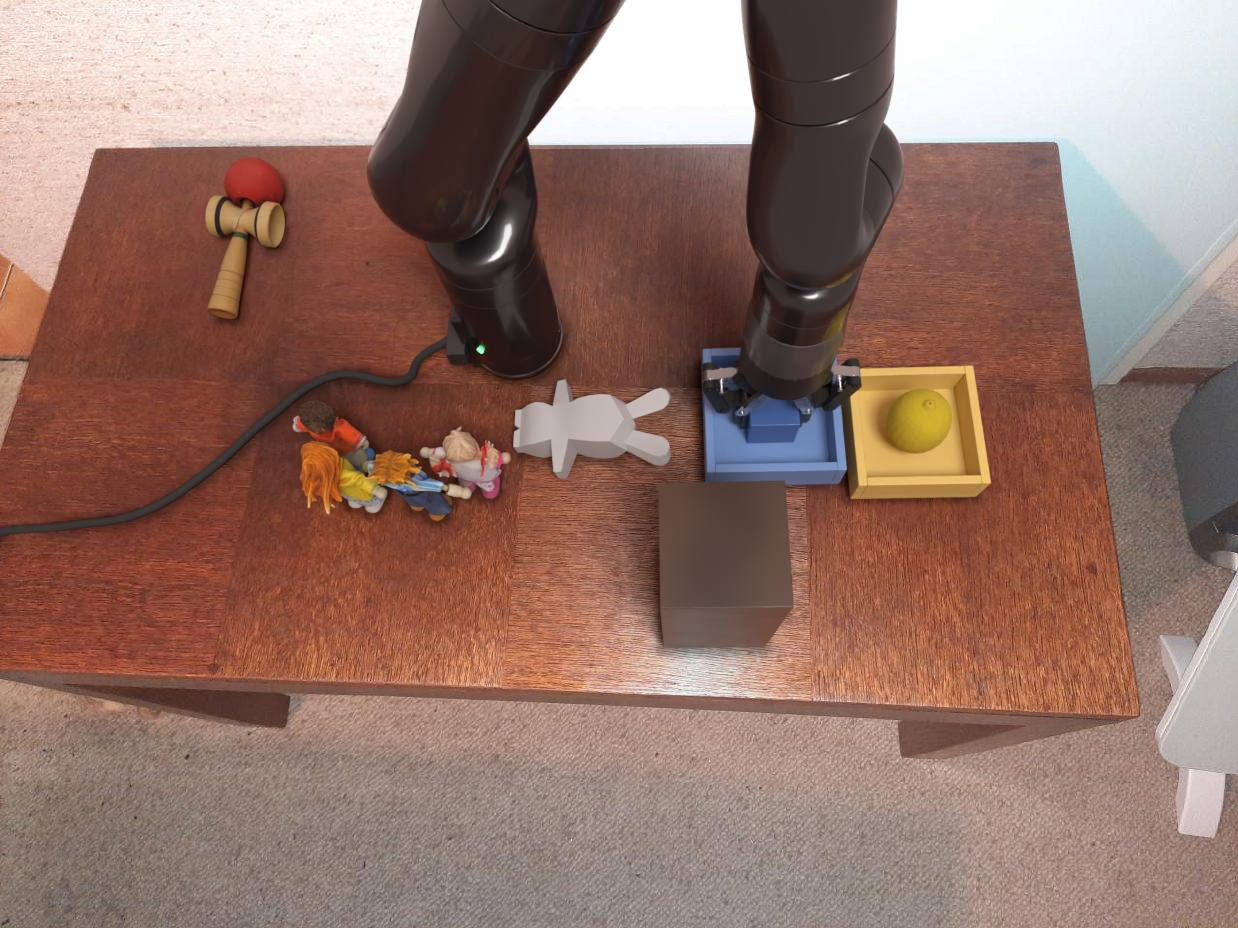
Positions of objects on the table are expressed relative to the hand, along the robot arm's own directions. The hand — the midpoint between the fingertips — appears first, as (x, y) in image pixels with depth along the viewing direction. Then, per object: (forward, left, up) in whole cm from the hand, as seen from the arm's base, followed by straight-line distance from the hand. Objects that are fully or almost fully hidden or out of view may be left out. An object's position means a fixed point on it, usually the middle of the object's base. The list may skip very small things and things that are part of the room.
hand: (769, 418), depth 82 cm
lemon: (+13, -2, -1) cm, 13 cm away
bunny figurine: (-17, -1, -2) cm, 17 cm away
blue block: (0, 0, -1) cm, 1 cm away
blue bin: (0, 0, -1) cm, 1 cm away
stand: (-6, -17, -1) cm, 18 cm away
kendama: (-55, +22, -2) cm, 59 cm away
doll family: (-35, -7, -2) cm, 36 cm away
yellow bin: (+13, -2, -1) cm, 13 cm away
